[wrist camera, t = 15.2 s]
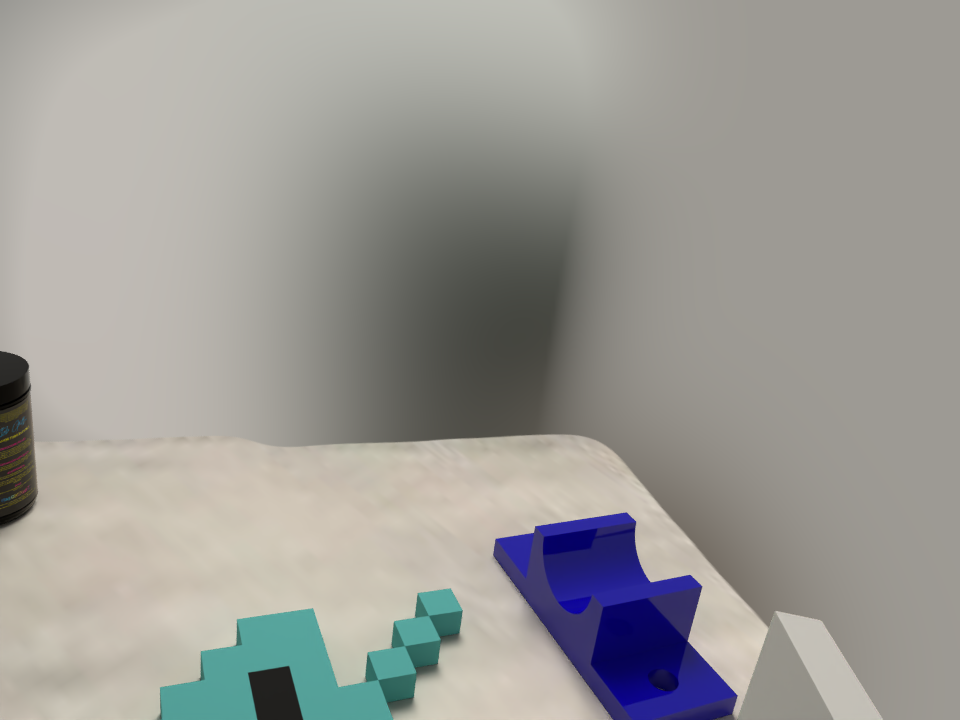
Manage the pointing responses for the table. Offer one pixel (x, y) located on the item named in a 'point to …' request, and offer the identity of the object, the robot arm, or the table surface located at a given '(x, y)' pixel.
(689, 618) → the mounting bracket
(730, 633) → the table surface
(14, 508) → the supplement container
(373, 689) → the alien figure
